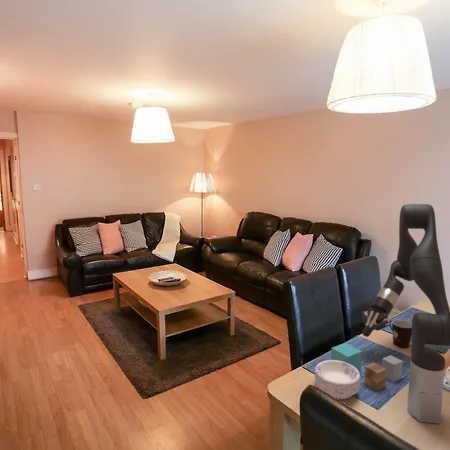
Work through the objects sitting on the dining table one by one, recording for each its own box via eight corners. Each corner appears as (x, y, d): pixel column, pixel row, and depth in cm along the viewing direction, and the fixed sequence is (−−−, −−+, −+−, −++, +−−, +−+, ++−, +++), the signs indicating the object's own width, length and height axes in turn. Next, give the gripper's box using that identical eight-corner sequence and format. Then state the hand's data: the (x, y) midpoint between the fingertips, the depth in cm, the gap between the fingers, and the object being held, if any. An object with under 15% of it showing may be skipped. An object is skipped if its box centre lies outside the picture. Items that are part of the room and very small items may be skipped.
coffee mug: (414, 350, 148) (416, 328, 146) (393, 348, 149) (394, 327, 148) (406, 337, 159) (407, 317, 158) (386, 336, 161) (387, 316, 159)
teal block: (360, 370, 133) (361, 351, 132) (347, 376, 129) (347, 356, 128) (344, 360, 140) (345, 342, 139) (330, 366, 136) (331, 347, 135)
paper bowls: (306, 384, 125) (306, 364, 123) (339, 375, 130) (340, 355, 129) (333, 410, 111) (333, 387, 109) (369, 399, 116) (370, 377, 115)
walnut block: (385, 386, 122) (386, 368, 121) (376, 391, 120) (377, 373, 119) (373, 379, 127) (374, 362, 126) (364, 384, 124) (365, 366, 123)
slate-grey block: (401, 378, 128) (402, 361, 127) (393, 382, 125) (394, 364, 124) (389, 371, 132) (390, 355, 131) (381, 375, 129) (382, 358, 128)
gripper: (367, 291, 147) (347, 324, 142) (396, 301, 135) (375, 337, 131) (375, 301, 150) (355, 333, 146) (403, 311, 139) (382, 346, 134)
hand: (364, 335), depth 138 cm, fingers closed
